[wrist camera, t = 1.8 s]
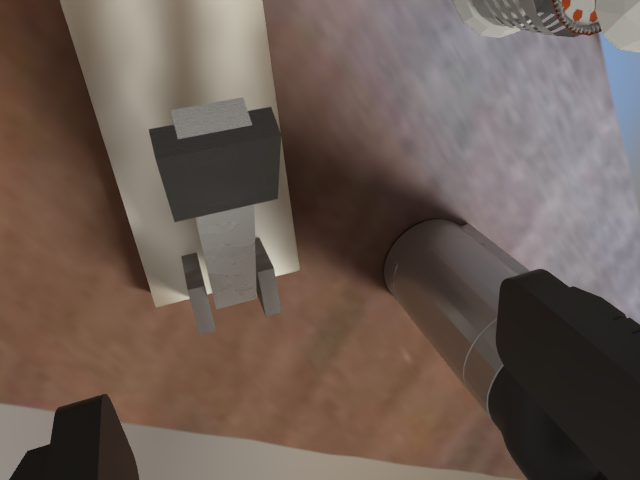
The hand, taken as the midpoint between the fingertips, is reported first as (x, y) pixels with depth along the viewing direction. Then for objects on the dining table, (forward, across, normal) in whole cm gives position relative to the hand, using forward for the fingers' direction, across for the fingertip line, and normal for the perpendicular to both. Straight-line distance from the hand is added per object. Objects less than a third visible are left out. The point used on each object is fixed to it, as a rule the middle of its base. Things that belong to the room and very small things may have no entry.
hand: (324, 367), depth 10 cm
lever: (+21, 0, +7) cm, 22 cm away
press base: (+32, 0, +5) cm, 32 cm away
